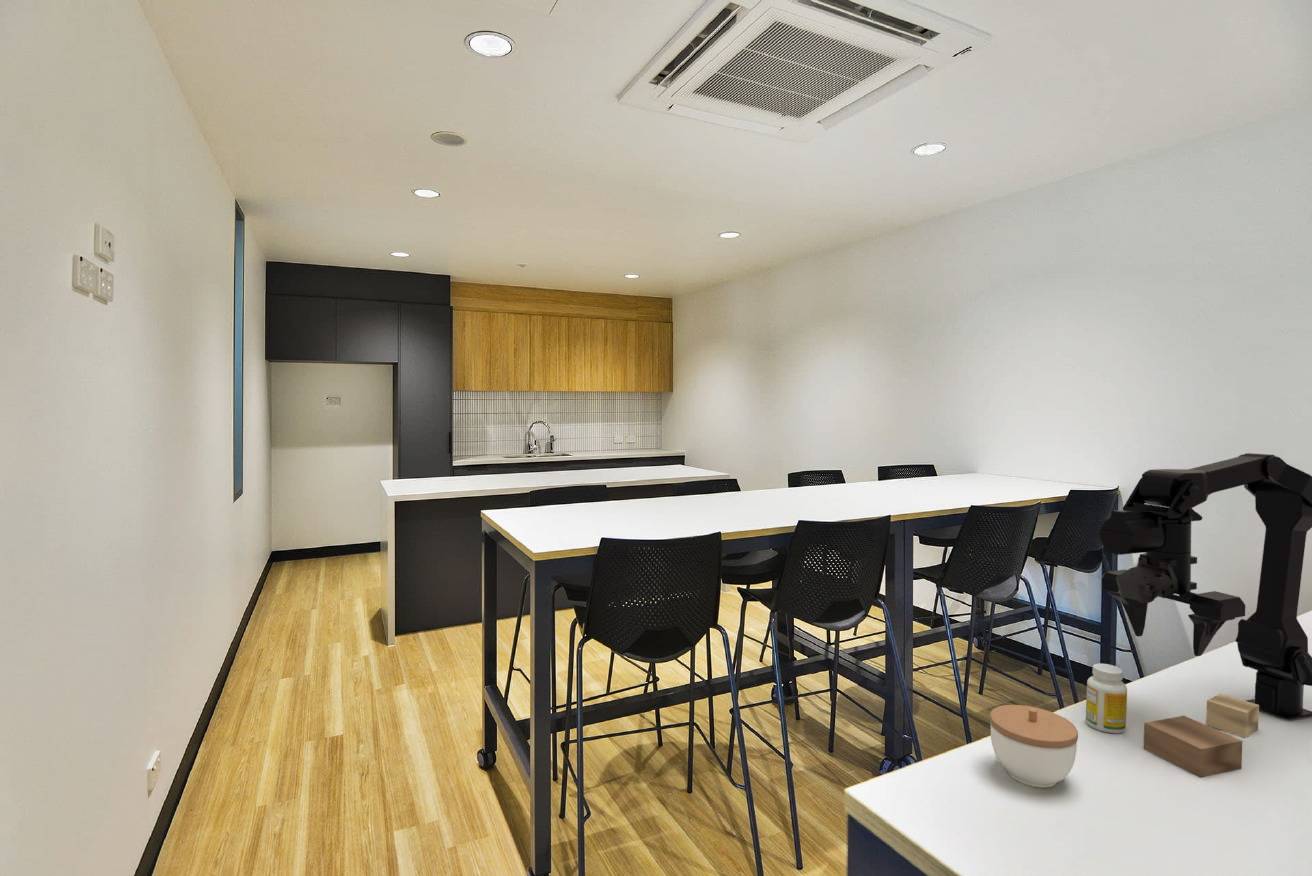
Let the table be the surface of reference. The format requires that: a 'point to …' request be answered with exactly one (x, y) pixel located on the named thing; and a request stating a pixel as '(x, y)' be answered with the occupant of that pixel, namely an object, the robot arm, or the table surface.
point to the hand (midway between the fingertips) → (1167, 645)
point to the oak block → (1232, 715)
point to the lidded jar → (1033, 744)
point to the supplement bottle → (1106, 699)
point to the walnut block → (1193, 745)
